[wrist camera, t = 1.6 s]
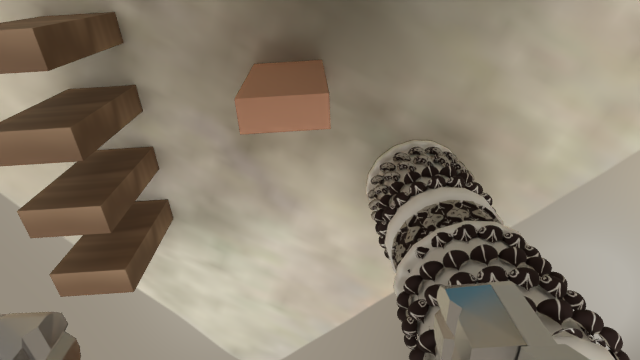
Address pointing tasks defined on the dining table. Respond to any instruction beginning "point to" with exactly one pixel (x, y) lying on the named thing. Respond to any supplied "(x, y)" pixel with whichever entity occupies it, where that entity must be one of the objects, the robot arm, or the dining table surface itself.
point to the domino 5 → (284, 98)
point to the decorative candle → (464, 250)
